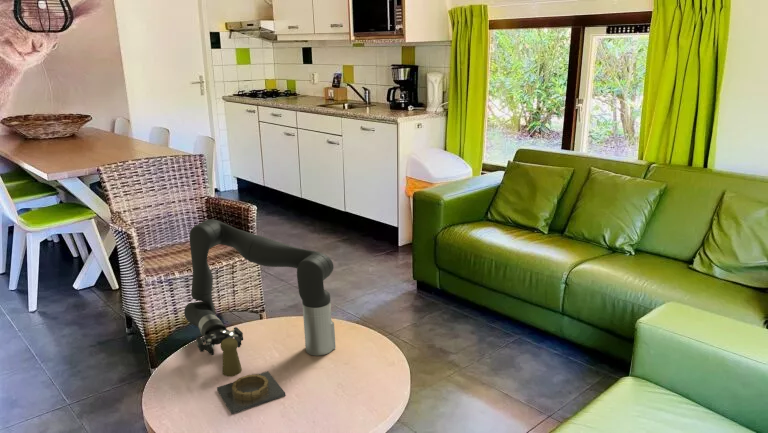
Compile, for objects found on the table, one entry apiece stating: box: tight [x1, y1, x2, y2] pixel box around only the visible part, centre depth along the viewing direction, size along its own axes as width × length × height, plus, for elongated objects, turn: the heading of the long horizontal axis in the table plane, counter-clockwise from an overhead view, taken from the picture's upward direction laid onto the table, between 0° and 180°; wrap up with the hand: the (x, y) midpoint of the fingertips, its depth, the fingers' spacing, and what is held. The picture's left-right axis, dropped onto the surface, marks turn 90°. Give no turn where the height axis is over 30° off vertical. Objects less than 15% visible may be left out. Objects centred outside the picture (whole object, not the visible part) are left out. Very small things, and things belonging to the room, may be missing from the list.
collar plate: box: [216, 371, 286, 415], centre depth 170 cm, size 16×14×3 cm
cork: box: [219, 337, 243, 378], centre depth 181 cm, size 6×6×11 cm
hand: (226, 348), depth 184 cm, fingers open, 8 cm apart
